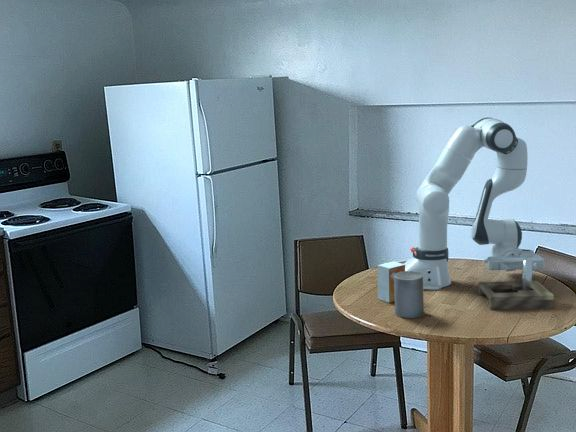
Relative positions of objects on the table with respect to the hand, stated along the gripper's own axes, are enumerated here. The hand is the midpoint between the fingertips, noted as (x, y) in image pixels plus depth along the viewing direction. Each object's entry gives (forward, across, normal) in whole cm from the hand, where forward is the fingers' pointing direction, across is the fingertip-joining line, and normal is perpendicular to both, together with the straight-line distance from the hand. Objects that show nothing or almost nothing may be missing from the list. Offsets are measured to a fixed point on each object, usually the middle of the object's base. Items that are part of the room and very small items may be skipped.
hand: (521, 268), depth 228 cm
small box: (+1, -47, +10) cm, 48 cm away
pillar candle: (+17, -43, +10) cm, 47 cm away
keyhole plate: (+6, -4, +10) cm, 12 cm away
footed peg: (+7, 0, +10) cm, 12 cm away
